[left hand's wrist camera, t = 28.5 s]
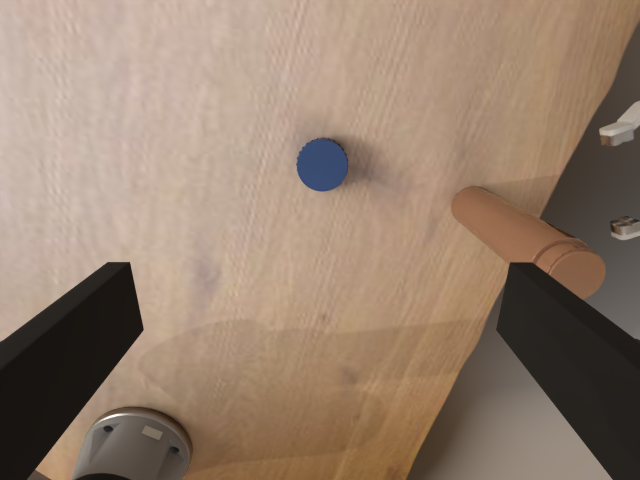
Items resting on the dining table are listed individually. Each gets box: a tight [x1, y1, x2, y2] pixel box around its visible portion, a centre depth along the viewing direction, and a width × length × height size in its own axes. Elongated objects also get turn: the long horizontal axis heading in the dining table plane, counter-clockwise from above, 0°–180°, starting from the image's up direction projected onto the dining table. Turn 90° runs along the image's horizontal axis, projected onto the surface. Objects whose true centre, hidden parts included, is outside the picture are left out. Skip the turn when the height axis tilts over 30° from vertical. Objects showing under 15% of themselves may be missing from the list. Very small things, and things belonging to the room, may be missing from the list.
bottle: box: [452, 187, 606, 300], centre depth 33 cm, size 4×4×18 cm
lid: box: [296, 138, 348, 191], centre depth 39 cm, size 6×6×2 cm
